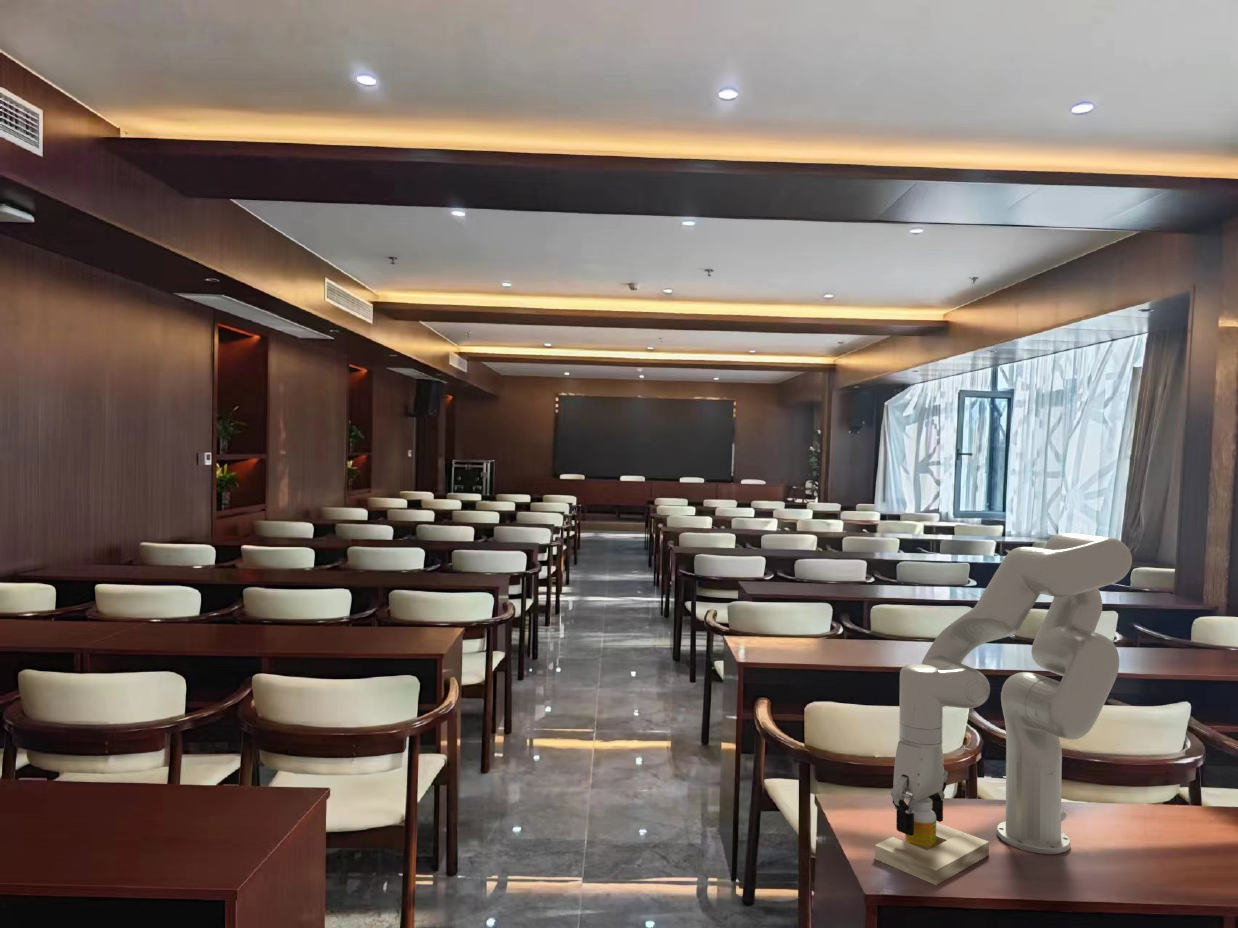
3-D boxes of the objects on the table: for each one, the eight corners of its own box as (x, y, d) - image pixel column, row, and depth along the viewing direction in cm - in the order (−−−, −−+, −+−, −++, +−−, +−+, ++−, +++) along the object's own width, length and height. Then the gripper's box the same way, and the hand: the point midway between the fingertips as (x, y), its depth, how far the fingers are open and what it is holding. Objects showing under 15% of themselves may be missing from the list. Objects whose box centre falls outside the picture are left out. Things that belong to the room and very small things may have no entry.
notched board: (928, 832, 161) (928, 819, 161) (988, 855, 152) (988, 841, 152) (874, 858, 150) (874, 844, 150) (935, 885, 140) (936, 870, 140)
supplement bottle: (938, 860, 150) (938, 806, 150) (907, 856, 151) (907, 803, 151) (933, 846, 155) (933, 794, 155) (903, 843, 156) (903, 792, 156)
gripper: (927, 719, 161) (926, 807, 161) (875, 737, 150) (874, 831, 150) (964, 729, 155) (963, 820, 155) (913, 748, 145) (912, 846, 144)
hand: (919, 825), depth 153 cm, fingers open, 9 cm apart
